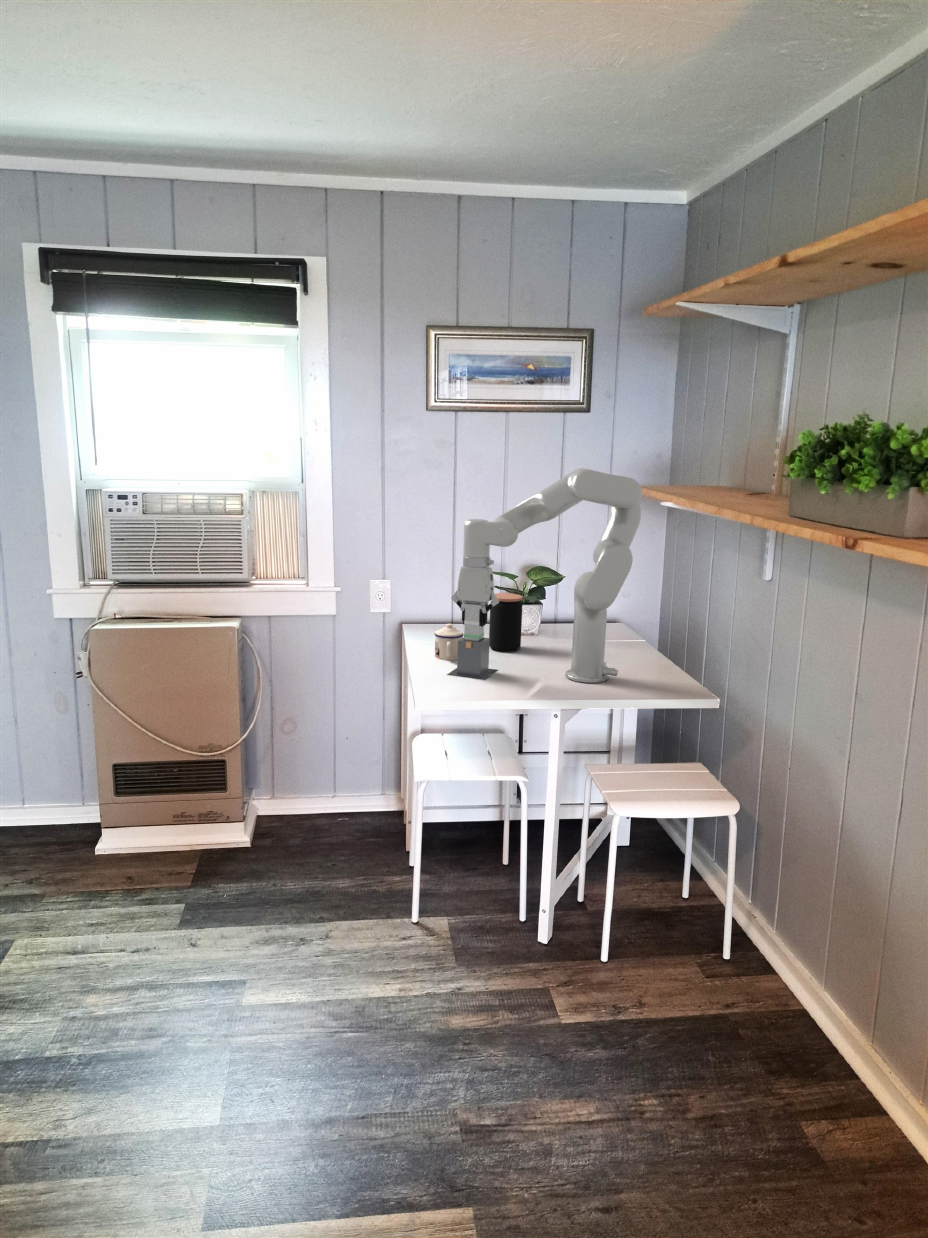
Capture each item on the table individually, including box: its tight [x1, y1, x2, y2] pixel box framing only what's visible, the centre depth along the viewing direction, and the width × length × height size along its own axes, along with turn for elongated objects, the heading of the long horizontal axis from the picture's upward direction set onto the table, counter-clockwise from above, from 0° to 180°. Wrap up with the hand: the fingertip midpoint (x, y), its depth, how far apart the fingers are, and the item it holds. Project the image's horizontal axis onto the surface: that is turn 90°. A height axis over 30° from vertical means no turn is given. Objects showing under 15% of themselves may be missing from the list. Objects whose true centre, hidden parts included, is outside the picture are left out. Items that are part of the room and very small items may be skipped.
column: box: [462, 602, 486, 642], centre depth 245 cm, size 6×6×17 cm
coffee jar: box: [488, 592, 524, 653], centre depth 280 cm, size 11×11×18 cm
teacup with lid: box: [434, 623, 464, 661], centre depth 262 cm, size 12×9×12 cm
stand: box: [446, 636, 499, 681], centre depth 247 cm, size 12×12×11 cm
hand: (474, 624), depth 245 cm, fingers closed on column, 4 cm apart
